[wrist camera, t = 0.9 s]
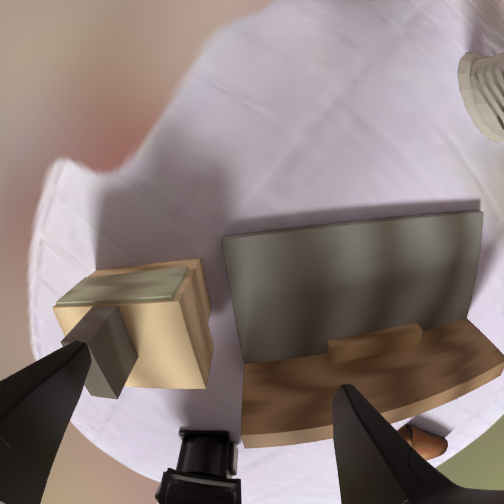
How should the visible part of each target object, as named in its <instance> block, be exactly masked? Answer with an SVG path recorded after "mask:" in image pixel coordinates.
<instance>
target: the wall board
mask: <svg viewBox="0 0 504 504" xmlns="http://www.w3.org/2000/svg"><path fill="white" fill-rule="evenodd" d="M482 227H483V212H481V211H478V210H472V211H459V212H446V213H434V214H423V215H411V216H400V217H390V218H379V219H369V220H359V221H350V222H340V223H331V224H321V225H312V226H303V227H295V228H286V229H277V230H269V231H261V232H252V233H244V234H236V235H228V236H223V237H222V239H221V242H222V248H223V254H224V260H225V265H226V271H227V277H228V282H229V288H230V294H231V299H232V305H233V310H234V315H235V321H236V326H237V331H238V336H239V341H240V346H241V352H242V357H243V362H244V372H243V393H242V415H241V438H242V441H243V444H244V447H245V448H262V447H275V446H285V445H293V444H301V443H308V442H314V441H320V440H326V439H331V438H333V414H332V400H333V397H334V396H335V394H336V392H337V391H338V389H339V387H340V386H341V385H342V384H352V385H354V386H355V387H356V389H357V390H358V391H359V392H360V393H361V394H362V395H363V396H364V397H365V398H366V399H367V400H368V401H369V402H370V403H371V404H372V406H373V407H374V408H375V409H376V410H377V411H378V412H379V413H380V414H381V415H382V416H383V417H384V418H385V419H386V420H387V421H388V422H389V423H390V424H391V423H395V422H398V421H401V420H404V419H407V418H410V417H412V416H415V415H418V414H421V413H423V412H426V411H429V410H431V409H434V408H436V407H438V406H441V405H443V404H445V403H448V402H450V401H452V400H454V399H457V398H459V397H461V396H463V395H465V394H467V393H469V392H471V391H473V390H475V389H477V388H479V387H481V386H483V385H484V384H486V383H488V382H490V381H492V380H493V379H495V378H497V377H498V376H500V375H501V373H502V371H503V369H504V355H503V354H502V353H501V352H500V350H499V349H498V348H497V347H496V346H495V345H494V344H493V343H492V342H491V341H490V340H489V339H488V338H487V337H486V336H485V335H484V334H483V333H482V332H481V331H480V330H479V329H478V328H477V327H475V326H474V325H473V324H472V323H471V322H470V321H469V320H468V319H467V314H468V310H469V306H470V302H471V298H472V293H473V289H474V284H475V279H476V273H477V267H478V261H479V254H480V246H481V237H482Z"/></svg>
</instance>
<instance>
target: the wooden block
mask: <svg viewBox="0 0 504 504" xmlns="http://www.w3.org/2000/svg"><path fill="white" fill-rule="evenodd" d="M53 311H54V313H55V315H56V318H57V320H58V322H59V324H60V327H61V329H62V331H63V333H64V335H65V338H64V339H63V340H62V341H61V344H62V346H63V347H64V346H66V345H67V344H69V343H71V342H73V341H75V340H81V341H84V342H86V343H87V344H88V347H89V351H90V354H91V358H92V362H91V366H90V369H89V372H88V375H87V377H86V380H85V383H84V385H85V387H86V388H87V390H88V392H89V393H90V395H91V396H97V397H104V398H111V399H118V397H119V395H120V393H121V391H122V389H123V387H124V386H128V387H142V388H163V389H206V386H207V380H208V375H209V370H210V365H211V359H212V354H213V349H214V346H213V342H212V338H211V334H210V330H209V326H208V318H209V315H210V311H211V305H210V300H209V296H208V291H207V287H206V282H205V277H204V272H203V267H202V262H201V258H195V259H187V260H179V261H170V262H162V263H154V264H145V265H137V266H129V267H120V268H112V269H104V270H96V271H95V272H93V273H92V274H91V275H90V276H88V277H85V278H84V279H83V280H82V281H80V282H79V283H78V284H77V285H76V286H74V287H73V288H72V289H71V290H70V291H68V292H67V293H66V294H65V295H64V296H63V297H62V298H60V299H59V300H58V301H57V302H56V305H55V306H54V307H53Z"/></svg>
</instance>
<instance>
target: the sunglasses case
mask: <svg viewBox="0 0 504 504" xmlns="http://www.w3.org/2000/svg"><path fill="white" fill-rule="evenodd" d="M397 432H398V433H399V434H400V435H401V436H402V437H403V438H404V439H405V440H406V441H407V442H408V443H409V444H410V445H411V447H413V448H414V449H415V450H416V451H417V452H418V453H419V454H420V455H421V456H422V457H423V458H424V459H425V460H429V459H433V458H436V457H438V456H440V455H442V454H444V453H445V452H446V450H447V447H448V442H447V440H446V439H445V438H442V437H438V436H435V435H433V434H430V433H427V432H425V431H423V430H420V429H418V428H416V427H414V426H410V425H406V424H405V425H404V426H403V427H402V428H400V429H399V430H398V431H397Z"/></svg>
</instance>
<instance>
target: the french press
mask: <svg viewBox="0 0 504 504" xmlns="http://www.w3.org/2000/svg"><path fill="white" fill-rule="evenodd" d="M503 61H504V53H501V54H498V55H494V56H490V57H486V58H485V57H484V56H482V55H480V54H478V53H466V54H465V55H464V56H463V57H462V58H461V59H460V63H459V68H458V79H459V87H460V92H461V95H462V98H463V101H464V104H465V107H466V110H467V112H468V113H469V115H470V117H471V118H472V120H473V122H474V124H475V126H476V127H477V128H478V129H479V130H480V131H481V132H482V133H483V134H484V135H485V137H486V138H488V139H490V140H493V141H495V142H497V143H498V142H501V141H504V70H503V69H502V68H501V65H503V66H504V62H503ZM496 63H497V64H496Z"/></svg>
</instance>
